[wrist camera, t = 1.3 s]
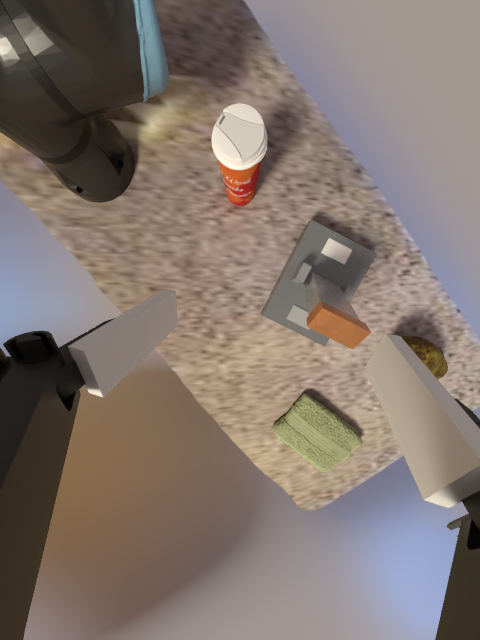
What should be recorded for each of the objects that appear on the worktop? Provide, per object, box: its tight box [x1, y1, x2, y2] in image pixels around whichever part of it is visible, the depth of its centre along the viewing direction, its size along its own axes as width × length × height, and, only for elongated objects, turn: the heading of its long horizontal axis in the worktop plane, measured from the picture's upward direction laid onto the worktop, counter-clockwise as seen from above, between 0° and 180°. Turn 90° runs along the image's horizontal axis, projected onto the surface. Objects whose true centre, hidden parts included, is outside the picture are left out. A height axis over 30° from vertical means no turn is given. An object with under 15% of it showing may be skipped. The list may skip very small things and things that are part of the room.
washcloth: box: [272, 394, 363, 473], centre depth 43 cm, size 13×18×3 cm
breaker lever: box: [303, 271, 371, 349], centre depth 30 cm, size 3×6×16 cm, turn 63°
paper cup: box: [212, 104, 267, 206], centre depth 32 cm, size 8×8×14 cm
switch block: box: [261, 220, 377, 346], centre depth 37 cm, size 20×14×7 cm
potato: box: [401, 336, 448, 379], centre depth 38 cm, size 8×13×8 cm, turn 40°
